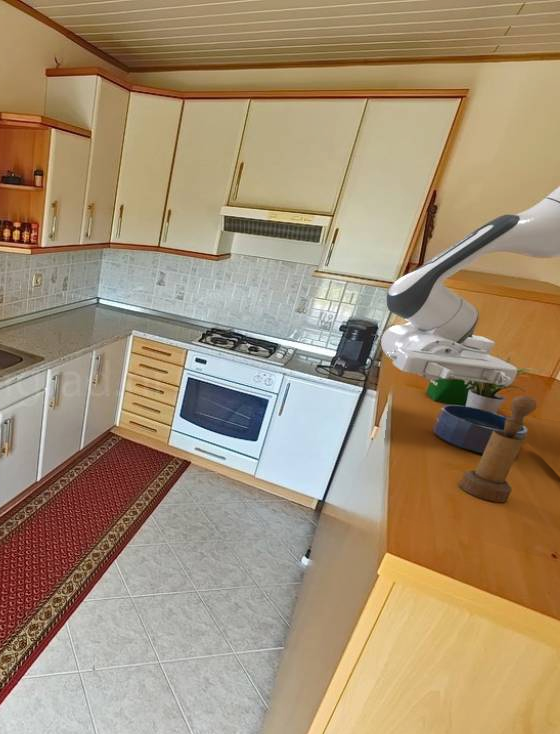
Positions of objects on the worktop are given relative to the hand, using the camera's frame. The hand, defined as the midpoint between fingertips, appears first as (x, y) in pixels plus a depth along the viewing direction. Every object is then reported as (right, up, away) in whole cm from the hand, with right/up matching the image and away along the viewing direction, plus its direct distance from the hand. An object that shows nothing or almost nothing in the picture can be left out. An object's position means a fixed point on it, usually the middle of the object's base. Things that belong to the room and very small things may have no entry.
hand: (478, 378), depth 90 cm
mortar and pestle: (-4, -20, -5) cm, 21 cm away
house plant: (+28, -10, +30) cm, 42 cm away
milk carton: (+29, -6, +43) cm, 52 cm away
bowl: (+12, -14, +15) cm, 24 cm away
